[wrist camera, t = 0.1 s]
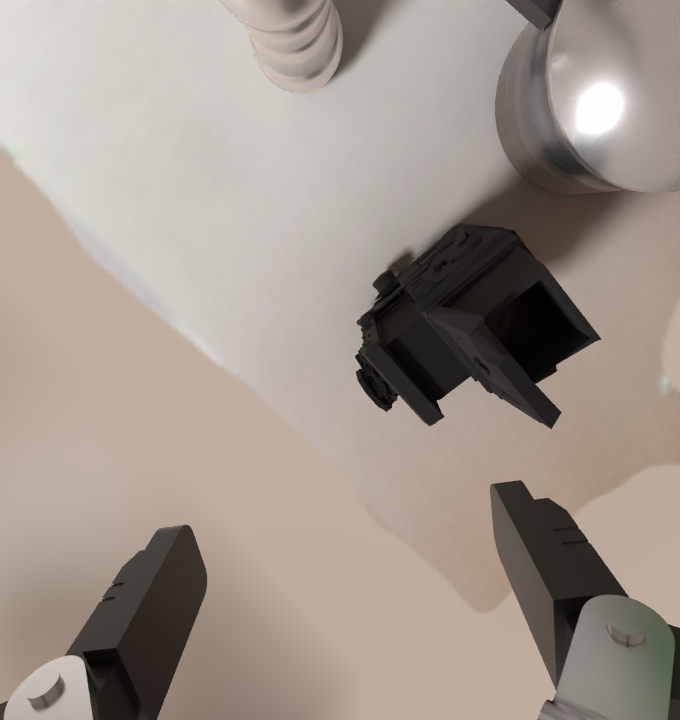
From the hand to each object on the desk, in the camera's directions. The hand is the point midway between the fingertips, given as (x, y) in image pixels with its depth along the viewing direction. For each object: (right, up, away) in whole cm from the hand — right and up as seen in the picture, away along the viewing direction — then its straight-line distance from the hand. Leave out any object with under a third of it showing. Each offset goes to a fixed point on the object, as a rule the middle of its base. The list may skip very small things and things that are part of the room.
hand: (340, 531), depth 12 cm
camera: (+8, +9, +28) cm, 30 cm away
